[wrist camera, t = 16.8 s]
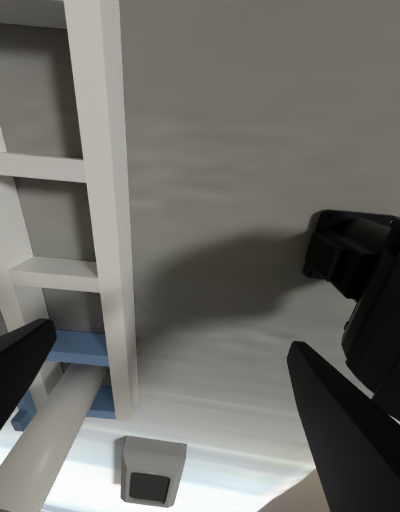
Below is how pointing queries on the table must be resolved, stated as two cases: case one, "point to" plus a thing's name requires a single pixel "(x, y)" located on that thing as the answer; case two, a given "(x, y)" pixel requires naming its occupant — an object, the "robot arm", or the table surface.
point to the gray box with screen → (151, 471)
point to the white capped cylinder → (48, 440)
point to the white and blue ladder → (101, 210)
